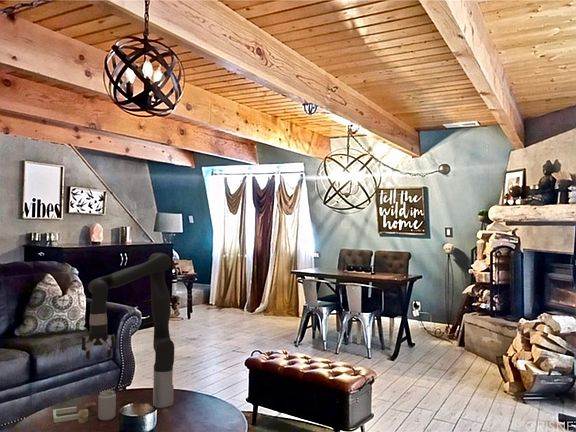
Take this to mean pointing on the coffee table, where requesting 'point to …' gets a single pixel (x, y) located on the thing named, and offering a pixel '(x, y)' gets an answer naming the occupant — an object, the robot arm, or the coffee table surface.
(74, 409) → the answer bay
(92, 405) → the walnut block
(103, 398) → the pale grey jar
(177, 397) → the coffee table surface
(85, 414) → the cork cylinder
